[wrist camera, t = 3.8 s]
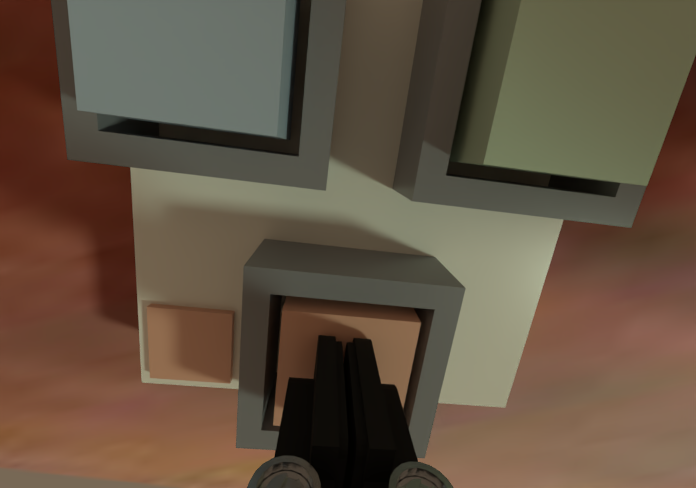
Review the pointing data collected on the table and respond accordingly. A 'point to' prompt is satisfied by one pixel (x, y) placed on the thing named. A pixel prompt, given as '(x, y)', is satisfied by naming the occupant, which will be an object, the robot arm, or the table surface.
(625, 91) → the sage button
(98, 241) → the table surface
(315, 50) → the button panel
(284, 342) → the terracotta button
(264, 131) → the slate button
